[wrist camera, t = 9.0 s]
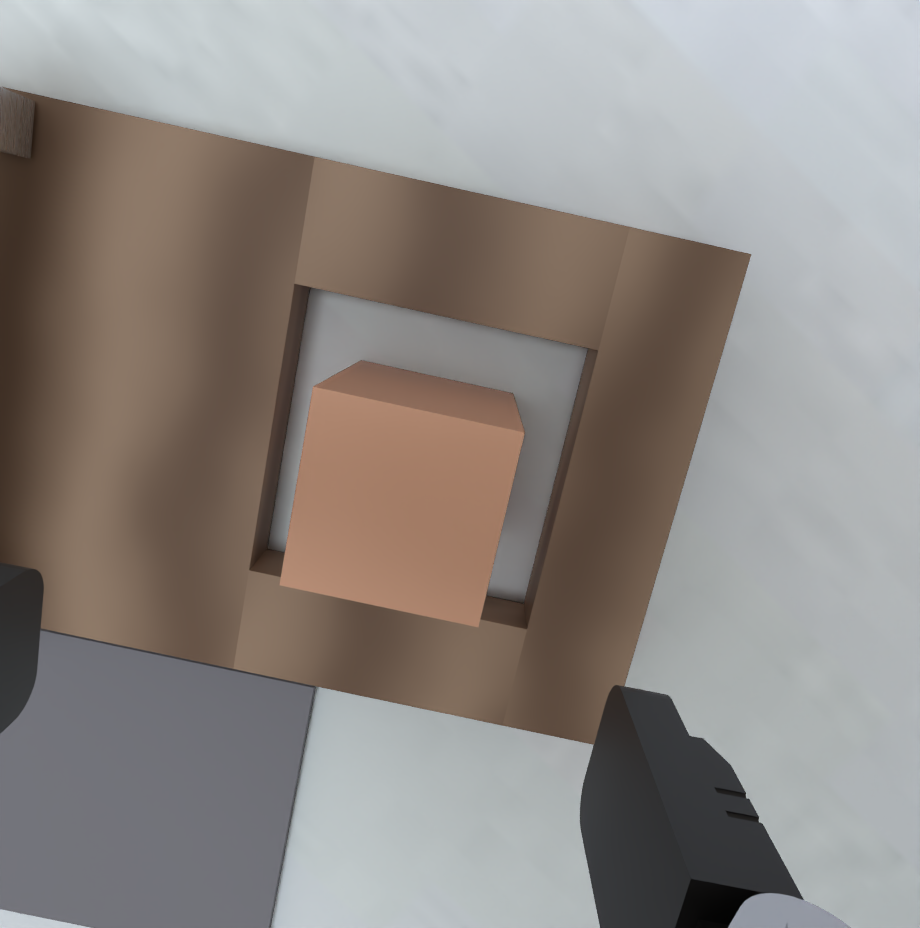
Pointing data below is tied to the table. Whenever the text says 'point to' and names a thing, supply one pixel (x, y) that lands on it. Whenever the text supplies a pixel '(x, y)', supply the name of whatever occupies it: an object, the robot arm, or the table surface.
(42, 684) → the charcoal mat
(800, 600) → the table surface
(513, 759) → the table surface
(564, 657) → the puzzle board
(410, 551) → the terracotta block
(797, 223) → the table surface
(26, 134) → the metal gate
